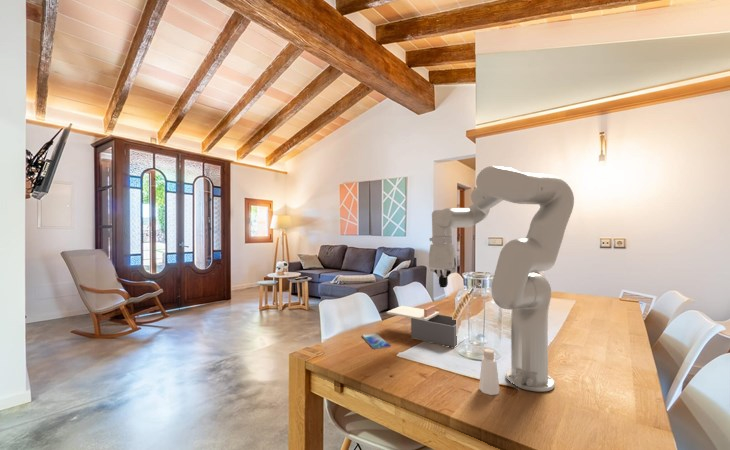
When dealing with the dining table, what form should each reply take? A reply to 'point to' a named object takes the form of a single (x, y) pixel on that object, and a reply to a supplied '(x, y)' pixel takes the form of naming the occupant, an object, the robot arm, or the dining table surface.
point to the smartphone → (375, 341)
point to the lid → (414, 312)
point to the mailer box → (435, 330)
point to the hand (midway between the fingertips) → (443, 286)
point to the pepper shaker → (489, 374)
